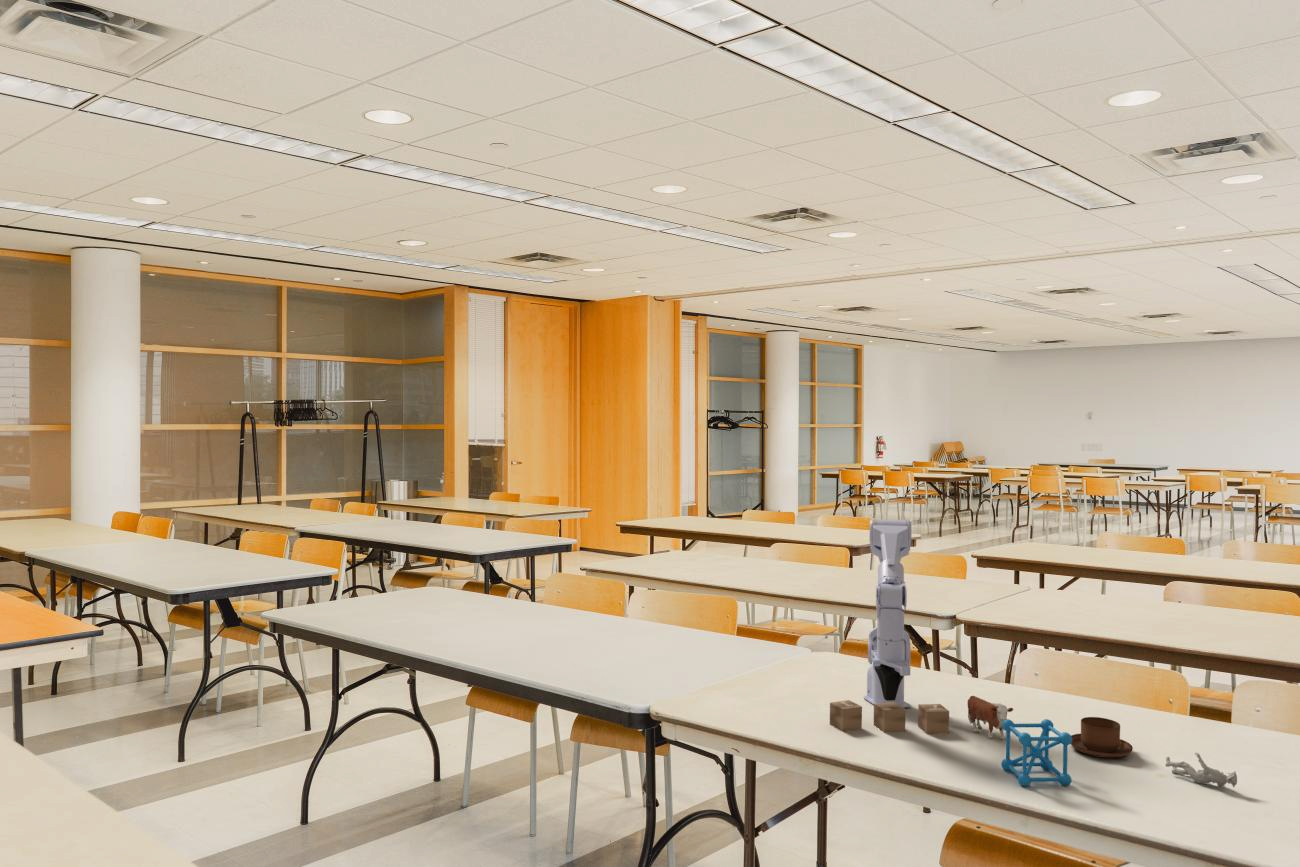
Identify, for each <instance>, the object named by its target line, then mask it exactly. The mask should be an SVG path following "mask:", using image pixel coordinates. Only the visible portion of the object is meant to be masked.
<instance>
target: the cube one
mask: <svg viewBox="0 0 1300 867" xmlns="http://www.w3.org/2000/svg"><path fill="white" fill-rule="evenodd" d="M829 725H830V726H831V727H833V726H834V727H833V728H835V729H837V730H839V731H841V732H842V731H843V732H848V731H847V730H850V731H854V729H857V730H862V729H861V728H863V727H862V725H863V706H862V705H860V704H857V703H855V702H854V701H851V700H849V699H848V700H839V701H838V700H837V701H832V702H829Z"/></svg>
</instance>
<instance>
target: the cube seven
mask: <svg viewBox="0 0 1300 867" xmlns="http://www.w3.org/2000/svg"><path fill="white" fill-rule="evenodd" d="M917 706H918V707H917V727H918V728H919V729H920V730H921V729H922V731H923V733H925V734H926V735H940V734H939V733H949V734H950V710H948V709H947V708H946V707H945V706H943V705H942V704H940V703H928V704H927V703H926V704H925V703H924V704H923V703H922V704H918V705H917Z"/></svg>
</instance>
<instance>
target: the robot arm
mask: <svg viewBox="0 0 1300 867" xmlns="http://www.w3.org/2000/svg"><path fill="white" fill-rule="evenodd" d="M911 544H912V521H910V519H884V518H883V519H882V518H880V519H878V518H875V517H874V518H873V517H872V518H871V519H870V520H869V545H870V546H869V549H870V552H871V554H872V555H874V556H876V557H877V558H878V560H879V565H878V567H877V585H876V586H875V606H876V607H875V608H876V618H877V623H876V624H877V625H876V626H875V627H874V628H872V629H870V632H869V633H868V640H867V662H868V663H869V665H870V666H869V667H868V669H867V672H866V695H863V697H862V698H864V699H865V701H868V702H869V703H870V704H872V705H873V706H874V703H888V702H895V703H897V704H898V705H900V706H902V707H903V708H905V709H906V708H912V705H911V704H910V703H908V702H906V701H905V677H907V676H911V666H910V665H911V637H910V636H911V635H909V633H908V631H906V630H905V611H906V609H907V602H908V601H907V599H908V598H907V597H908V596H907V595H908V594H907V591H908V590H907V586H906V581H905V571H904V569H905V568H904V565H903V564H902V563H901V560H902V558H904V557H906V556H909V555H910V554H909V553H910V551H911ZM903 608H904V609H903Z"/></svg>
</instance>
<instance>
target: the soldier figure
mask: <svg viewBox="0 0 1300 867" xmlns="http://www.w3.org/2000/svg"><path fill="white" fill-rule="evenodd" d="M1194 755H1195V756H1196V757H1197V759H1198V760H1197V761H1198V762H1199V764H1200V766H1201V768H1202V769H1197V770H1196V769H1195V768H1194V767H1193V766H1191V765H1190V764H1189V763H1188V762H1186V761H1179V762H1178V761H1177V762H1175V761H1171V757H1170V756H1167V757H1165V761H1166V762H1165V767H1166V768H1167V767H1168V768H1169V767H1172V770H1171V774H1179V775H1180V774H1181V775H1186V776H1189V777H1191V779H1192V780H1193V781H1194V782H1196V783H1197V784H1201V785H1202V784H1209V783H1212V784H1217V786H1218V787H1222V786H1225V785H1226V784H1229V785H1230V784H1231V786H1232V787H1233V788H1235V787H1236V785H1237V783H1238V776H1237V773H1236V770H1235V771H1233V772H1231V773H1230V772H1227V773H1226V774H1227V775H1226V774H1224V772H1223V771H1220V770H1219V769H1214V768H1211V767H1209V766H1208V765H1207V764H1206V763H1205V762H1204V759H1202V757H1201V755H1200V753H1199V752H1195V753H1194ZM1178 768H1181V769H1178Z"/></svg>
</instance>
